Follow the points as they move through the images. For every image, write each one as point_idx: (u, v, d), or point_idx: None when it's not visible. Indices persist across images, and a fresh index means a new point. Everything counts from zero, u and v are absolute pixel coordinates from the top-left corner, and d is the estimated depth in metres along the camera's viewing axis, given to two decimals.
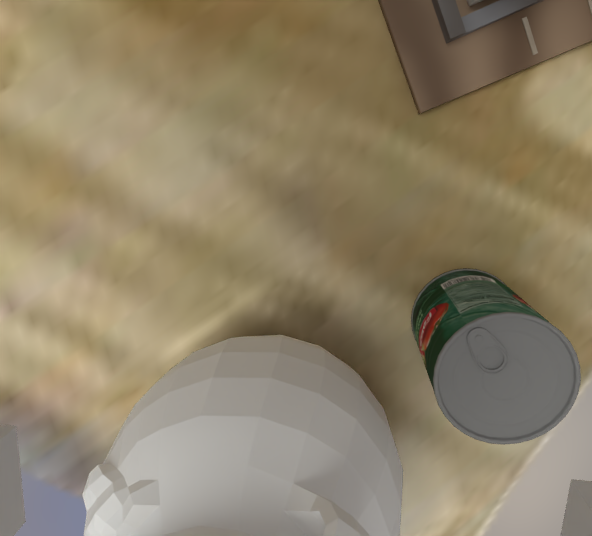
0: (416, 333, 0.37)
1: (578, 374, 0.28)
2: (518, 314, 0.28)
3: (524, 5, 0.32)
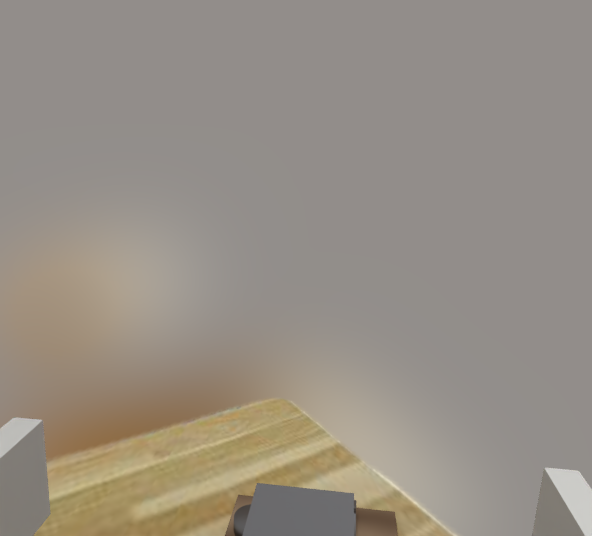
0: None
1: None
2: None
3: None
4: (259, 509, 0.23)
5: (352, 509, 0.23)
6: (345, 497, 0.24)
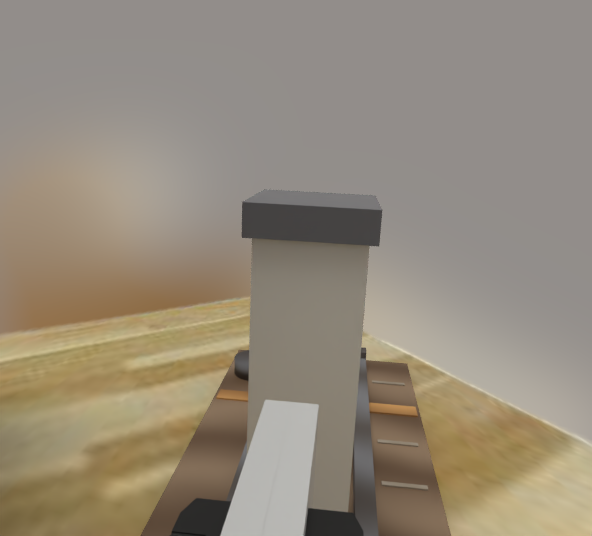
0: None
1: None
2: None
3: (375, 522, 0.23)
4: (268, 194, 0.20)
5: (375, 198, 0.20)
6: (366, 195, 0.21)
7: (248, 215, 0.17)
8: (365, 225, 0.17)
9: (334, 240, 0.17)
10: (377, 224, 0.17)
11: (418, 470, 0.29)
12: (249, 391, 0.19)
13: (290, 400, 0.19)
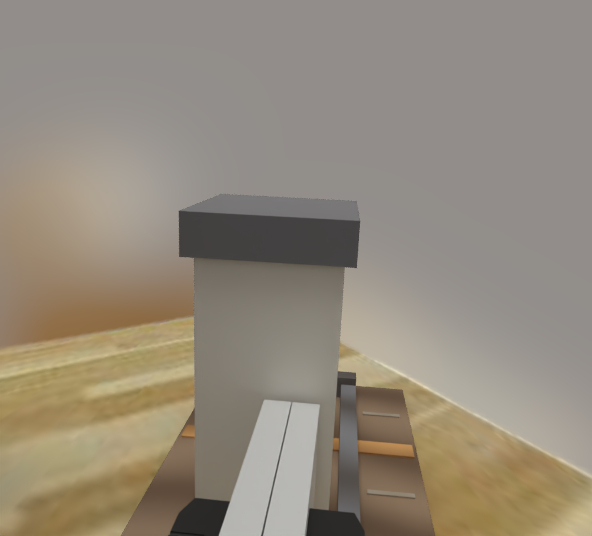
0: None
1: None
2: None
3: None
4: (221, 199, 0.16)
5: (355, 204, 0.16)
6: (345, 201, 0.17)
7: (187, 228, 0.13)
8: (338, 240, 0.13)
9: (298, 260, 0.13)
10: (354, 239, 0.13)
11: (415, 531, 0.24)
12: (196, 449, 0.15)
13: None
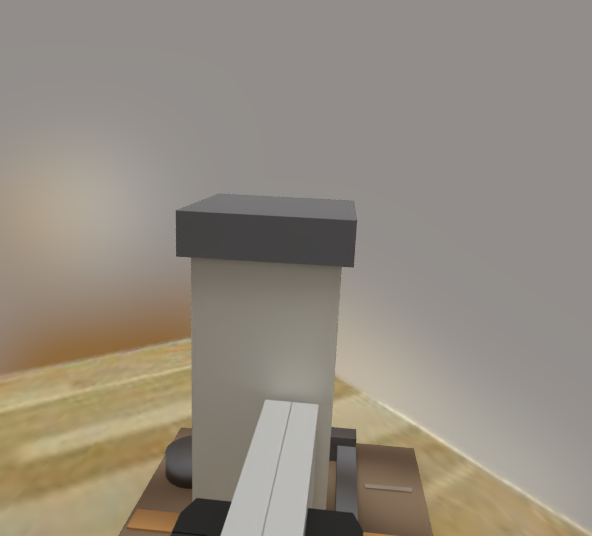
0: None
1: None
2: None
3: None
4: (218, 199, 0.16)
5: (352, 204, 0.16)
6: (342, 201, 0.17)
7: (184, 228, 0.13)
8: (335, 240, 0.13)
9: (295, 260, 0.13)
10: (351, 239, 0.13)
11: None
12: (193, 449, 0.15)
13: None
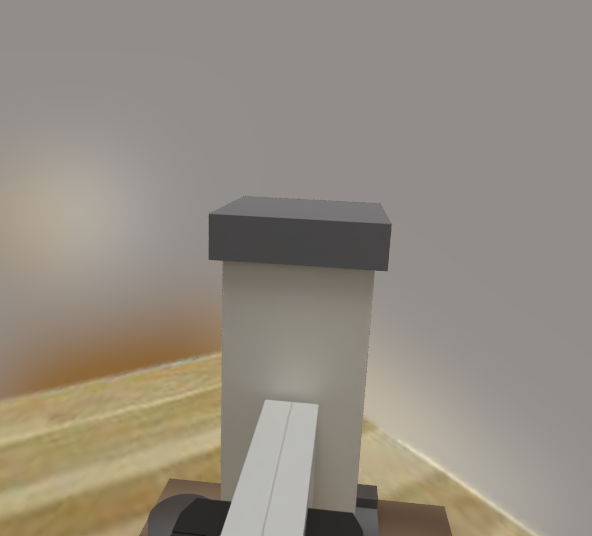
0: None
1: None
2: None
3: None
4: (246, 202, 0.16)
5: (380, 207, 0.16)
6: (369, 203, 0.17)
7: (217, 231, 0.13)
8: (369, 244, 0.13)
9: (329, 263, 0.13)
10: (385, 242, 0.13)
11: None
12: (222, 452, 0.15)
13: None
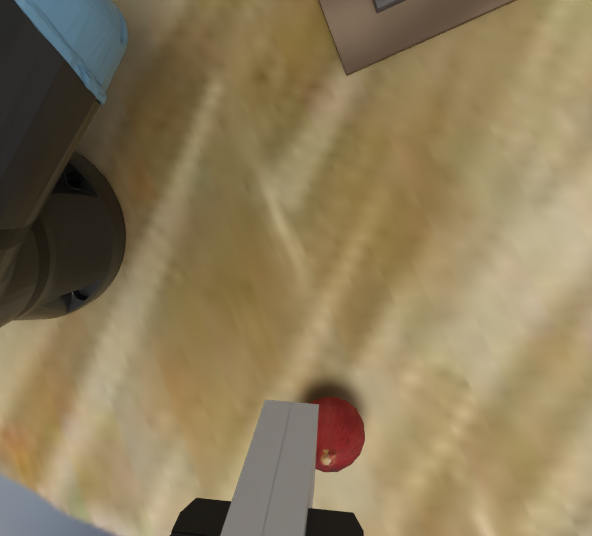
0: None
1: None
2: None
3: None
4: None
5: None
6: None
7: None
8: None
9: None
10: None
11: None
12: None
13: None
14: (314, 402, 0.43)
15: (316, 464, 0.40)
